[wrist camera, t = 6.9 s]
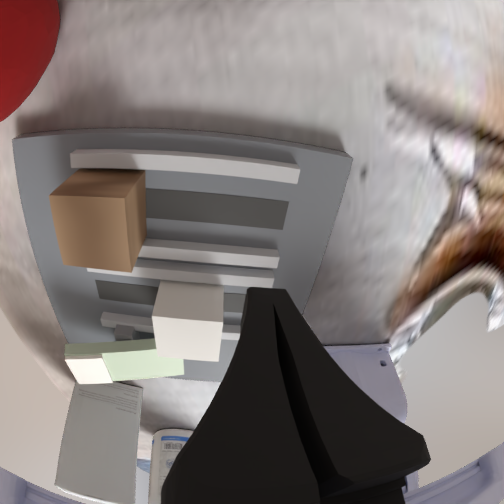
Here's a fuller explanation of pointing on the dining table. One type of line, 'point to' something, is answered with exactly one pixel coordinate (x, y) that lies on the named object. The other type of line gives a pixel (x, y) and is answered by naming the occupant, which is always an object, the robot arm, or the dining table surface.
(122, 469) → the skincare box
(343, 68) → the dining table surface
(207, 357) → the white cube
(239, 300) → the control board
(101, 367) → the sage rocker
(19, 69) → the apple
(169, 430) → the supplement tub
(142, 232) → the brown cube
